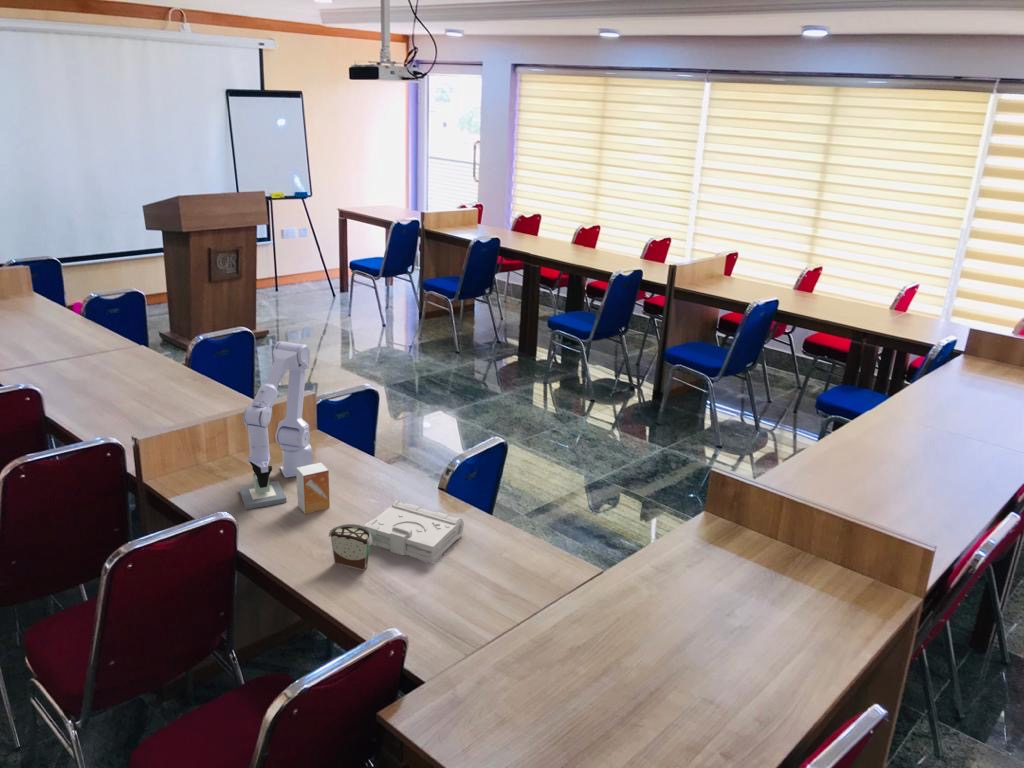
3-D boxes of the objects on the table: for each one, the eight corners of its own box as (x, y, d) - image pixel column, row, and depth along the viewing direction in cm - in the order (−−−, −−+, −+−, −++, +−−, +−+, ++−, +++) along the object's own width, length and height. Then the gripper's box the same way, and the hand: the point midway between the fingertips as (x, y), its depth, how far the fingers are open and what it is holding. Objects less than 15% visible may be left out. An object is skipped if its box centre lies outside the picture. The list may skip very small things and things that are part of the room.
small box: (304, 514, 252) (302, 475, 248) (297, 505, 257) (295, 467, 253) (330, 508, 257) (328, 469, 252) (322, 499, 261) (321, 461, 257)
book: (385, 511, 257) (385, 489, 254) (466, 535, 246) (466, 512, 243) (347, 541, 240) (346, 518, 237) (432, 568, 229) (432, 544, 226)
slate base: (278, 485, 269) (278, 480, 268) (286, 502, 259) (286, 497, 258) (239, 491, 264) (239, 487, 263) (246, 509, 254) (246, 504, 253)
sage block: (267, 485, 263) (266, 471, 261) (269, 491, 260) (268, 476, 258) (254, 488, 261) (252, 473, 259) (256, 493, 258) (255, 479, 256)
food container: (380, 560, 231) (380, 528, 227) (370, 572, 225) (369, 539, 222) (341, 550, 234) (340, 519, 231) (329, 562, 229) (328, 530, 225)
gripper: (241, 436, 259) (244, 476, 264) (249, 455, 247) (252, 496, 252) (264, 433, 262) (267, 472, 267) (274, 451, 250) (276, 492, 255)
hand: (261, 483), depth 260 cm, fingers closed on sage block, 4 cm apart
